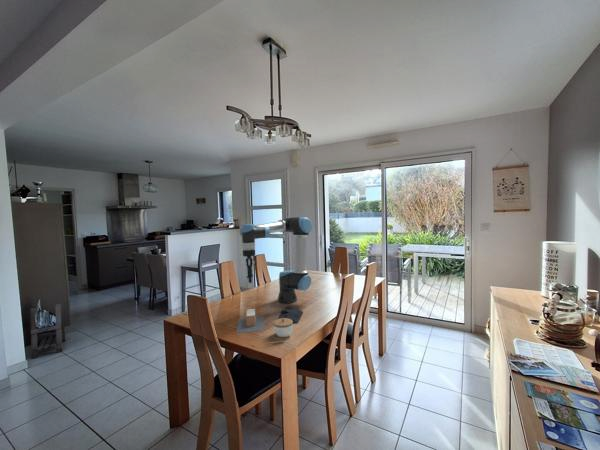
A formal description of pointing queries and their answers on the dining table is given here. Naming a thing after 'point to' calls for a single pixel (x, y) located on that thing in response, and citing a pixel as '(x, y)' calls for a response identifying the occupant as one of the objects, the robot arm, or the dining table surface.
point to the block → (250, 317)
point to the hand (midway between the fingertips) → (250, 287)
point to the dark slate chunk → (291, 314)
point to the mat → (244, 328)
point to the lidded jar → (283, 327)
